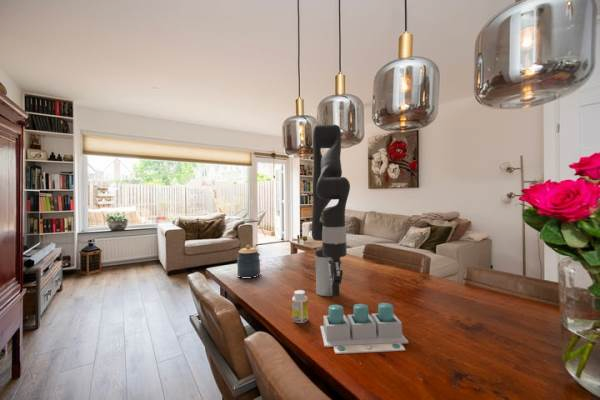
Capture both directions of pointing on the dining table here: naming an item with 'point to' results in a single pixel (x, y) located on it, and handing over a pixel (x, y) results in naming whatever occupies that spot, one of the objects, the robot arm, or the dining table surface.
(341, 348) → the card
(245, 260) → the canister
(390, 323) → the board
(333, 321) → the button
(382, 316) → the button
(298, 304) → the supplement bottle
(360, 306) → the button
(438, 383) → the dining table surface
